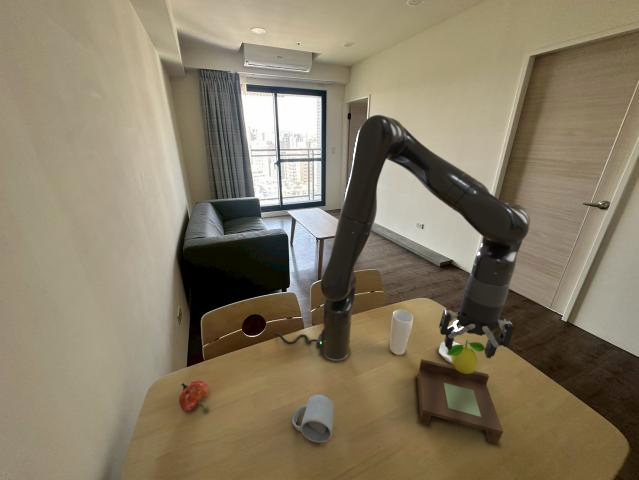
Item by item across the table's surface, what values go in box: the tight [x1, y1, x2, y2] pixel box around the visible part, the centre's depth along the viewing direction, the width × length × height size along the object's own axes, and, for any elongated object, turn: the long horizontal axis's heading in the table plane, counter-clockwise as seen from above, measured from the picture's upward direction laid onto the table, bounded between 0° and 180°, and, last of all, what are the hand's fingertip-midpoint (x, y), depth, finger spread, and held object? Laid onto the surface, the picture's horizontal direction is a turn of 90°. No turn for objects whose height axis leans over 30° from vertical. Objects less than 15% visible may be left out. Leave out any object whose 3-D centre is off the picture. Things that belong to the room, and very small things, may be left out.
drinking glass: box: [389, 309, 414, 356], centre depth 87 cm, size 7×7×15 cm
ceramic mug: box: [291, 393, 335, 444], centre depth 64 cm, size 11×8×8 cm
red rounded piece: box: [178, 380, 210, 412], centre depth 69 cm, size 7×7×10 cm
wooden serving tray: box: [416, 358, 504, 445], centre depth 69 cm, size 18×14×8 cm
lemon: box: [447, 339, 485, 374], centre depth 61 cm, size 7×6×10 cm
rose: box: [438, 340, 461, 365], centre depth 87 cm, size 10×4×10 cm
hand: (467, 351), depth 61 cm, fingers closed on lemon, 8 cm apart
